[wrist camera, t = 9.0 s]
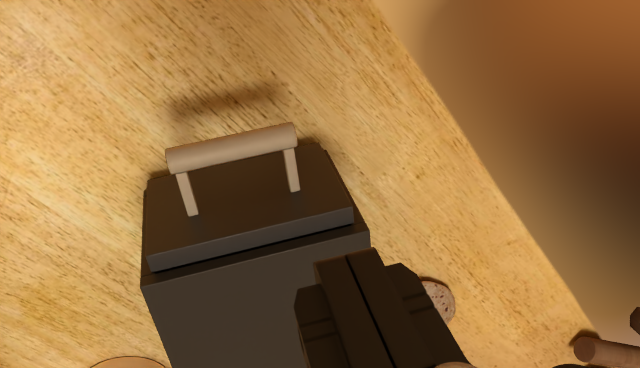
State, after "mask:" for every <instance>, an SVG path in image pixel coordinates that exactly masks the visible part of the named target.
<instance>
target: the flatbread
mask: <svg viewBox="0 0 640 368" xmlns="http://www.w3.org/2000/svg"><path fill="white" fill-rule="evenodd" d="M422 284H423V286H424V288H425V289H426V291H427V294H429V296H430V298H431V300H432V301H433V303H434V306H435V308H437V310H438V311H439V313H440V315H441V317H442V318H443V320H444V322H445V323H446V325H447V324H448V323H449V322H450V321H451V320H452V318H453V317H454V314H455V300H454V297H453V294H452V293H451V291H450V290H449V289H448V288H447V287H445V286H443V285H440V284H437V283H435V282H432V281H422Z"/></svg>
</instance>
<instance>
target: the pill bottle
mask: <svg viewBox="0 0 640 368" xmlns="http://www.w3.org/2000/svg"><path fill="white" fill-rule="evenodd" d="M92 368H165V367H164V366H162V365H161V364H159V363H157V362H155V361H152V360H149V359H145V358H140V357H121V358H115V359H110V360H107V361H104V362H102V363H99V364H97V365H95V366H93V367H92Z"/></svg>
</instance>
